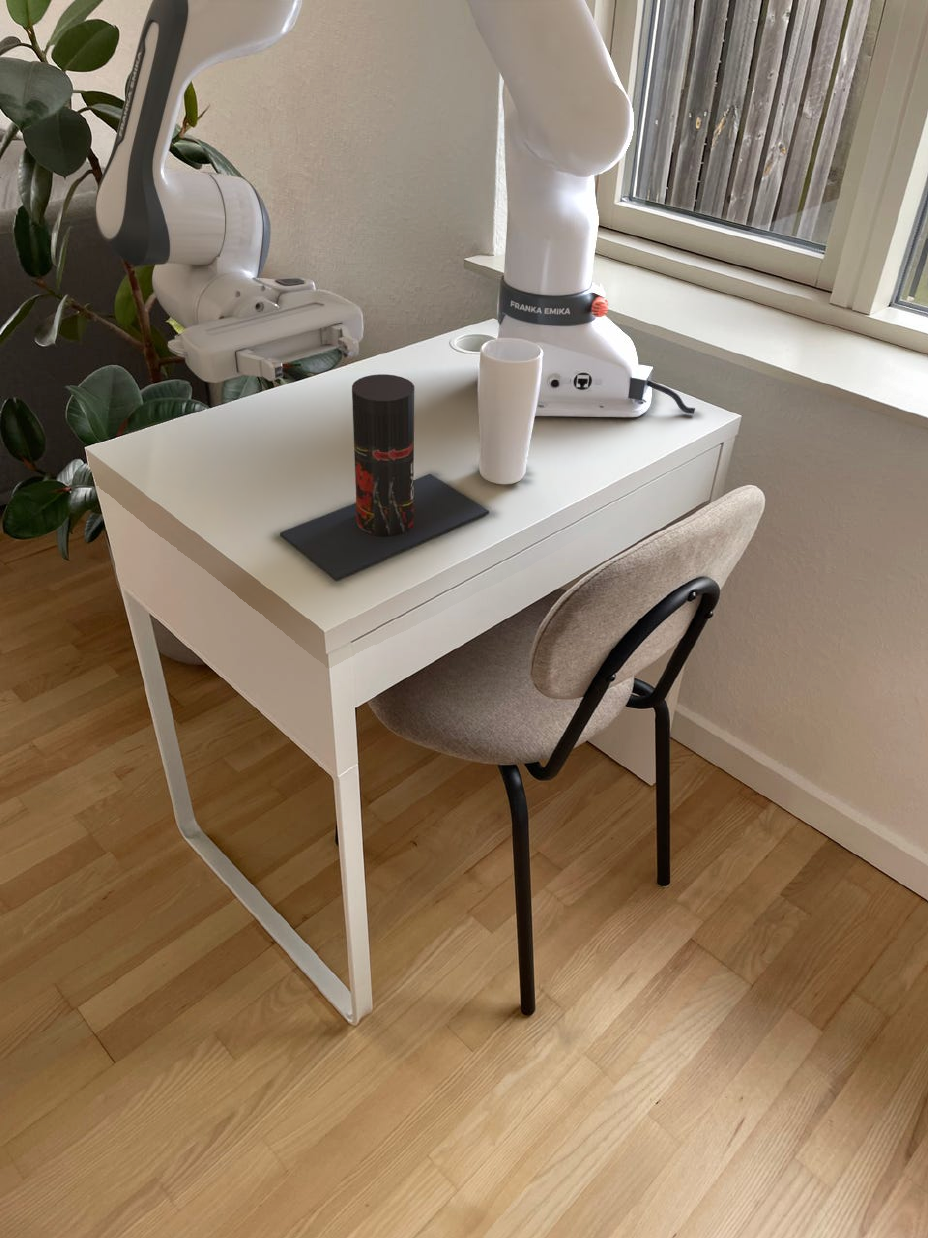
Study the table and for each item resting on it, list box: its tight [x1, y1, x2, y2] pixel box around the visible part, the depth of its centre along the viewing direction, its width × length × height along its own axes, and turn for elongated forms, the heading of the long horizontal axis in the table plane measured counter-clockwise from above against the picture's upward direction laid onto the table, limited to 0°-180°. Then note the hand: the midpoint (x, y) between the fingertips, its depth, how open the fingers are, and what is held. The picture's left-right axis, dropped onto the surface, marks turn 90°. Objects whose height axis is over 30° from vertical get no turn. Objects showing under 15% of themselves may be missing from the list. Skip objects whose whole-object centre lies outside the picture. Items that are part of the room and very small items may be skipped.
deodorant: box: [351, 373, 415, 537], centre depth 93 cm, size 6×6×15 cm
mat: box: [279, 473, 490, 582], centre depth 98 cm, size 20×10×1 cm, turn 131°
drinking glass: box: [477, 338, 543, 485], centre depth 103 cm, size 7×7×15 cm
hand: (316, 360), depth 96 cm, fingers open, 8 cm apart
